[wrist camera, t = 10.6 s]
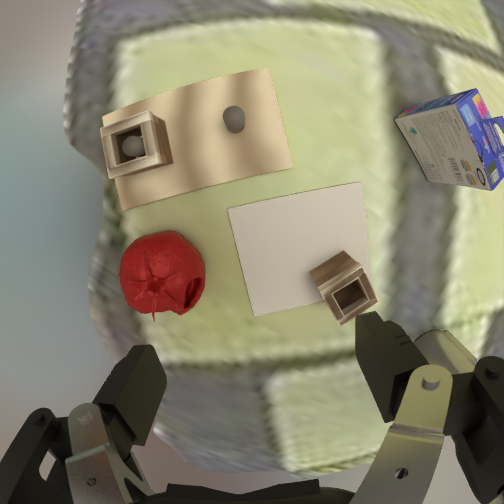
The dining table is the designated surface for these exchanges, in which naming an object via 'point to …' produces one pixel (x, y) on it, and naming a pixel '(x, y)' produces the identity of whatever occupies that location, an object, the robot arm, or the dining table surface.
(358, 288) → the sleeve
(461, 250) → the dining table surface
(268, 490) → the robot arm
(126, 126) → the sleeve
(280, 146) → the pin board
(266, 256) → the mat
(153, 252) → the pomegranate
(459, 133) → the ink cartridge box
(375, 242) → the dining table surface
